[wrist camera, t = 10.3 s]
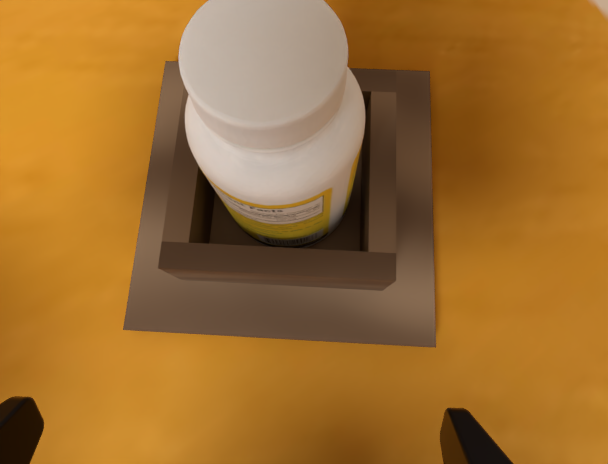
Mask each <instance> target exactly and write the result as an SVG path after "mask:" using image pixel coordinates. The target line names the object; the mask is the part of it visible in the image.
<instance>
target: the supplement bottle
mask: <svg viewBox="0 0 608 464" xmlns="http://www.w3.org/2000/svg"><path fill="white" fill-rule="evenodd" d="M347 64H348V44H347V38H346V34H345V31H344V28H343V25H342V23H341V21H340V20H339V18H338V17H337V15H336V14H335V12H334V11H333V10H332V9H331V7H330V6H329V5H328V4H327V3H326V2H325V1H324V0H208V1H207V2H206V3H205V4H204V5H203V6H202V7H200V8H199V9H198V11H197V12H196V13H195V14H194V16H193V17H192V18H191V20H190V21H189V23H188V25H187V26H186V28H185V31H184V33H183V36H182V38H181V43H180V47H179V69H180V74H181V77H182V80H183V83H184V86H185V88H186V90H187V92H188V94H189V95H188V99H187V103H186V108H185V129H186V135H187V140H188V144H189V146H190V149H191V151H192V154H193V156H194V158H195V159H196V161H197V163H198V165H199V167H200V169H201V170H202V172H203V173H204V175H205V176H206V178H207V179H208V181H209V182H210V184H211V185H212V187H213V188H214V190H215V191H216V193H217V194H218V196H219V197H220V199H221V200H222V202H223V203H224V205H225V206H226V208H227V209H228V211H229V212H230V214H231V215H232V217H233V218H234V220H235V221H236V223H237V224H238V226H239V227H240V228H241V229H242V230H243V231H244V232H245V233H246V234H247V235H248V236H250V237H251V238H252V239H254V240H255V241H257V242H259V243H261V244H263V245H265V246H268V247H284V248H306V247H309V246H312V245H314V244H316V243H318V242H320V241H322V240H323V239H325V238H326V237H327V236H329V235H330V234H331V233H332V232H333V231H334V230H335V229H336V227H337V226H338V225H339V224H340V222H341V220H342V219H343V217H344V215H345V213H346V210H347V207H348V204H349V200H350V197H351V192H352V187H353V182H354V178H355V173H356V169H357V164H358V159H359V155H360V150H361V146H362V141H363V136H364V129H365V105H364V100H363V95H362V92H361V89H360V87H359V84H358V82H357V80H356V78H355V77H354V75H353V73H352V72H351V70H350V69H349V67H348V66H347Z"/></svg>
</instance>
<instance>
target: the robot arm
mask: <svg viewBox="0 0 608 464" xmlns="http://www.w3.org/2000/svg"><path fill="white" fill-rule="evenodd" d="M43 428H44V420H43V418H42V416H41V414H40V411H39V409H38V407H37V405H36V403H35V401H34V399H33V398H31V397H20V396H15V397H11V398H9V399H7V400H6V401H4V402H3V403H1V404H0V464H30V462H31V459H32V457H33V454H34V452H35V449H36V447H37V445H38V442H39V440H40V437H41V435H42V432H43ZM440 444H441V450H442V456H443V462H444V464H513V463H512V462H511V460H510V459H509V458H508V457H507V456H506V455H505V453H504V452H503V451H502V450H501V449H500V448H499V446H498V445H497V444H496V443H495V442H494V440H493V439H492V438H491V437H490V436H489V435H488V433H487V432H486V431H485V430H484V429H483V428H482V426H481V425H480V424H479V423H478V422H477V421H476V419H475V418H474V417H473V416H472V415H471V413H470V412H469V411H468V410H466V409H464V408H447V409H446V410H445V413H444V418H443V422H442V427H441V431H440Z"/></svg>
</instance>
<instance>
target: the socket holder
mask: <svg viewBox="0 0 608 464" xmlns="http://www.w3.org/2000/svg"><path fill="white" fill-rule="evenodd" d="M349 69H350V70H351V72H352V73H353V75H354V77H355V78H356V80H357V82H358V84H359V87H360V89H361V92H362V95H363V100H364V105H365V129H364V136H363V141H362V146H361V150H360V155H359V159H358V164H357V169H356V173H355V178H354V182H353V187H352V192H351V197H350V200H349V204H348V207H347V210H346V213H345V215H344V217H343V219H342V220H341V222H340V224H339V225H338V226H337V227H336V229H335V230H334V231H333V232H332V233H331V234H330V235H329V236H327V237H326V238H325V239H323V240H322V241H320V242H318V243H316V244H314V245H312V246H309V247H306V248H284V247H268V246H265V245H263V244H261V243H259V242H257V241H255V240H254V239H252V238H251V237H250V236H248V235H247V234H246V233H245V232H244V231H243V230H242V229H241V228H240V227H239V226H238V224H237V223H236V221H235V220H234V218H233V217H232V215H231V214H230V212H229V211H228V209H227V208H226V206H225V205H224V203H223V202H222V200H221V199H220V197H219V196H218V194H217V193H216V191H215V190H214V188H213V187H212V185H211V184H210V182H209V181H208V179H207V178H206V176H205V175H204V173H203V172H202V170H201V169H200V167H199V165H198V163H197V161H196V159H195V158H194V156H193V154H192V151H191V149H190V146H189V144H188V140H187V135H186V129H185V108H186V103H187V99H188V95H189V94H188V92H187V90H186V88H185V86H184V83H183V80H182V77H181V74H180V69H179V62H174V61H166V62H165V69H164V75H163V81H162V88H161V94H160V100H159V107H158V113H157V119H156V126H155V132H154V138H153V145H152V151H151V157H150V163H149V170H148V176H147V182H146V189H145V195H144V201H143V208H142V214H141V220H140V227H139V233H138V239H137V246H136V252H135V258H134V265H133V271H132V277H131V283H130V290H129V296H128V302H127V309H126V315H125V321H124V328H123V330H135V331H153V332H170V333H188V334H206V335H224V336H241V337H259V338H277V339H294V340H312V341H330V342H347V343H365V344H383V345H400V346H418V347H436V329H435V285H434V241H433V196H432V152H431V107H430V71H408V70H382V69H356V68H349Z"/></svg>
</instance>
